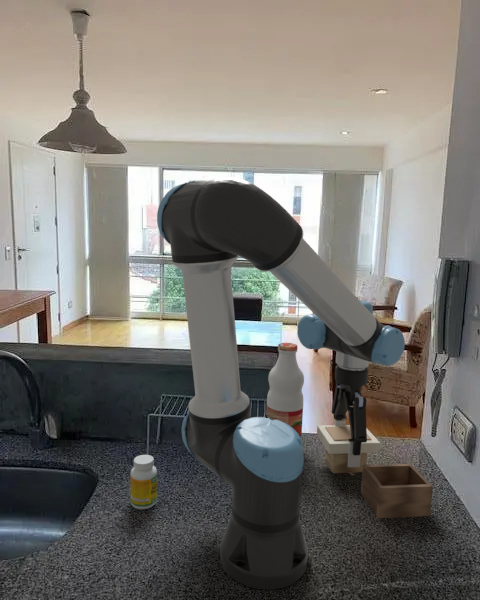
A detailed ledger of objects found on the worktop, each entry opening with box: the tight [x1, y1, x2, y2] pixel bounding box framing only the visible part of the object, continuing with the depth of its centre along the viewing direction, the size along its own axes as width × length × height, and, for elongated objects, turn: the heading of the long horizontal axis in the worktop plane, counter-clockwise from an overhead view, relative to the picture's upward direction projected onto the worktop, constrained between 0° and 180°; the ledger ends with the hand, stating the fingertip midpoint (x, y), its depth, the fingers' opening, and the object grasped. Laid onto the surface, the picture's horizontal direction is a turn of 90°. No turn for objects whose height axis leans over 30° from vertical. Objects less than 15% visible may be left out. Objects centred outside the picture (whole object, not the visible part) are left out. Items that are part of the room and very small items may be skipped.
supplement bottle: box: [129, 454, 158, 510], centre depth 95 cm, size 5×5×10 cm
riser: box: [324, 449, 368, 474], centre depth 112 cm, size 8×6×5 cm
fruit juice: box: [265, 342, 305, 439], centre depth 119 cm, size 9×9×28 cm
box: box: [360, 463, 434, 519], centre depth 97 cm, size 11×9×7 cm
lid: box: [316, 424, 381, 454], centre depth 111 cm, size 12×10×3 cm
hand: (345, 455), depth 112 cm, fingers closed on lid, 10 cm apart
